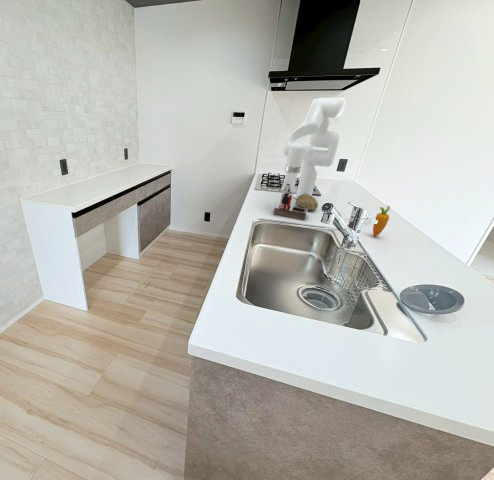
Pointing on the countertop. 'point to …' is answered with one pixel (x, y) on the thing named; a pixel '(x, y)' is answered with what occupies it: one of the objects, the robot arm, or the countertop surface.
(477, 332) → the countertop surface
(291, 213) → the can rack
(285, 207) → the soda can
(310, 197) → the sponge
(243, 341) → the countertop surface
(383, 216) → the carrot
